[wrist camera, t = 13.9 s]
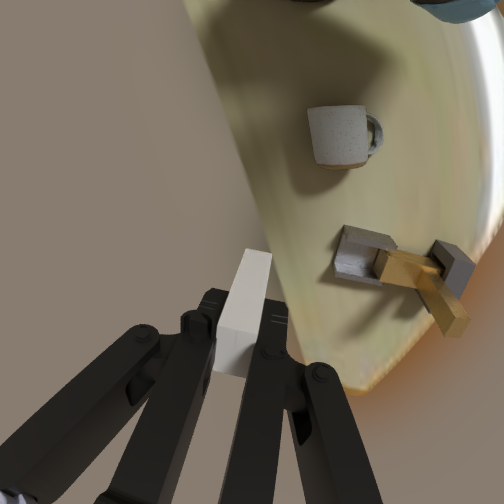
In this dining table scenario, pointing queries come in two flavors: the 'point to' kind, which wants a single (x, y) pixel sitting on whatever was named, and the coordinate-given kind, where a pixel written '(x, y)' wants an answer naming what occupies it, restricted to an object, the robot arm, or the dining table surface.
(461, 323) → the t-shaped wooden piece
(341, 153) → the ceramic mug
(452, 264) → the slotted grey block
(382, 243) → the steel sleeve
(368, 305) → the dining table surface
